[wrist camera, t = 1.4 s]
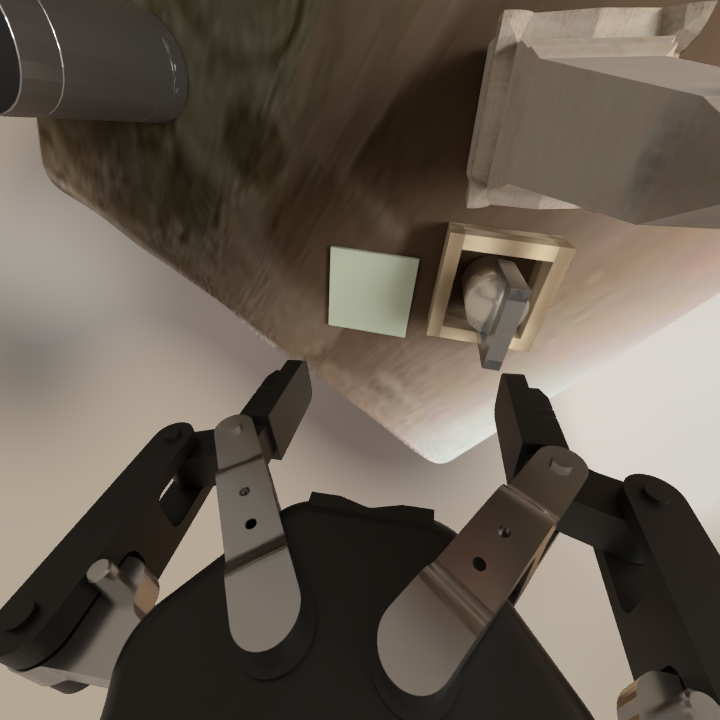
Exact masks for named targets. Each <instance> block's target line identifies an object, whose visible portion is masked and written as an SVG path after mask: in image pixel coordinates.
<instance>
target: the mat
mask: <svg viewBox="0 0 720 720" xmlns="http://www.w3.org/2000/svg"><path fill="white" fill-rule="evenodd" d="M419 259H420V258H415V257H408V256H401V255H394V254H387V253H380V252H373V251H366V250H359V249H352V248H345V247H338V246H331V255H330V291H329V325H333V326H339V327H345V328H351V329H357V330H363V331H368V332H374V333H380V334H386V335H392V336H398V337H403V338H405V334H406V328H407V323H408V318H409V312H410V307H411V302H412V296H413V291H414V286H415V280H416V275H417V270H418V264H419Z"/></svg>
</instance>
